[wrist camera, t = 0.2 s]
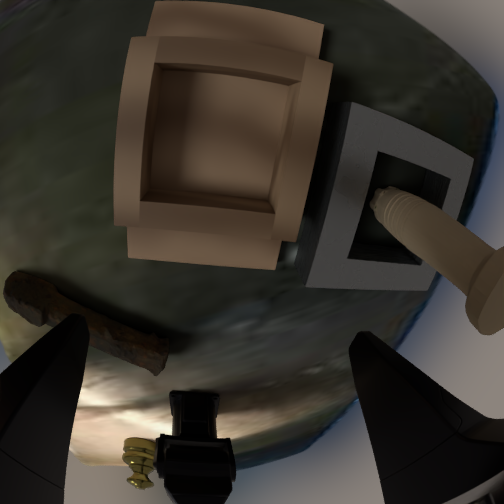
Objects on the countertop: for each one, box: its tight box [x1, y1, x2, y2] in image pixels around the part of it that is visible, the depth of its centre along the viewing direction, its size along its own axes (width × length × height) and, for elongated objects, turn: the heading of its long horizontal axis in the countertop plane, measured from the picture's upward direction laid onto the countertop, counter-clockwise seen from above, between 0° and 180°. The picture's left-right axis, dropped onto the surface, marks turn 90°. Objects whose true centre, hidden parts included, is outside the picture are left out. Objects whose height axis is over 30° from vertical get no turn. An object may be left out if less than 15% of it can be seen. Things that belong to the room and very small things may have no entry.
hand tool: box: [3, 271, 169, 376], centre depth 22 cm, size 19×4×5 cm, turn 55°
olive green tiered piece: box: [122, 438, 156, 490], centre depth 35 cm, size 7×7×10 cm
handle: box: [370, 186, 504, 335], centre depth 16 cm, size 5×6×15 cm
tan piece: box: [114, 1, 333, 270], centre depth 16 cm, size 20×12×4 cm, turn 171°
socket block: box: [294, 102, 474, 290], centre depth 21 cm, size 14×14×4 cm
